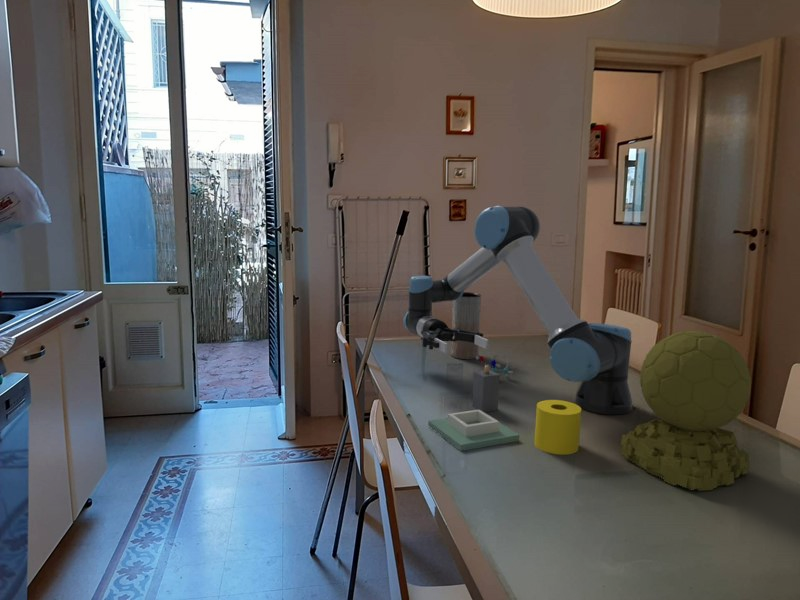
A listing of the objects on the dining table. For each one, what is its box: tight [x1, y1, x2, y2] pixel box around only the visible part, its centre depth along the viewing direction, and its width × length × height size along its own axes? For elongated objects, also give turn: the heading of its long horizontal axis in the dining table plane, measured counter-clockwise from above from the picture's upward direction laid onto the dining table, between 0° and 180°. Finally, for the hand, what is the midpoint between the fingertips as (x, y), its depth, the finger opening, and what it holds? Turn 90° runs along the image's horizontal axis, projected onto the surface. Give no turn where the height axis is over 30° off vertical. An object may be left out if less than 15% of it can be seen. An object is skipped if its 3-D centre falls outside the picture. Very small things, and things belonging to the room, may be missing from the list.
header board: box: [427, 409, 520, 452], centre depth 147 cm, size 16×16×4 cm
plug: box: [471, 364, 500, 413], centre depth 164 cm, size 5×5×12 cm
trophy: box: [620, 330, 752, 492], centre depth 129 cm, size 22×22×30 cm
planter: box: [450, 291, 482, 360], centre depth 217 cm, size 10×10×23 cm
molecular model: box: [475, 353, 514, 378], centre depth 193 cm, size 12×10×10 cm
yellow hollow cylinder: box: [533, 399, 582, 455], centre depth 140 cm, size 10×10×9 cm
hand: (467, 346), depth 172 cm, fingers open, 13 cm apart
